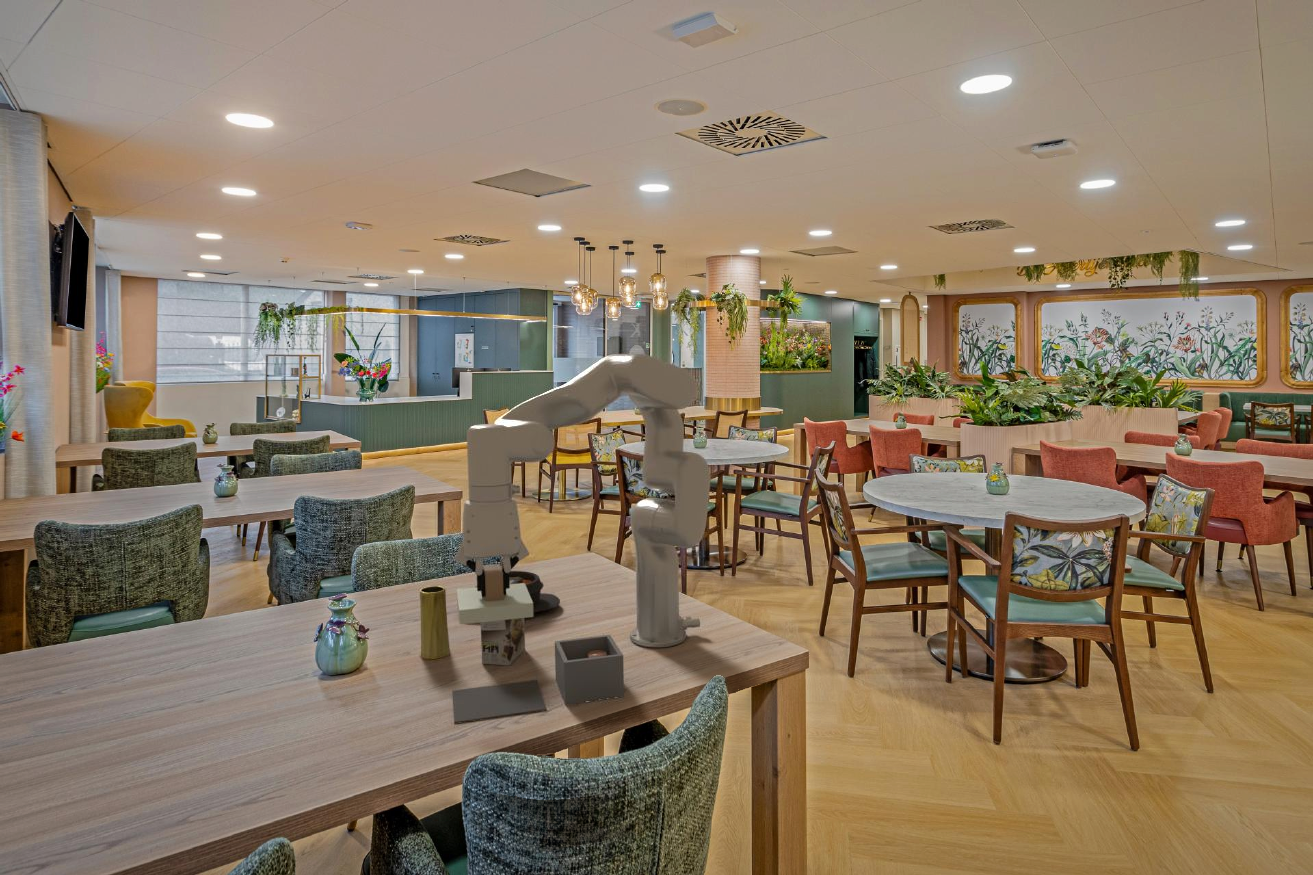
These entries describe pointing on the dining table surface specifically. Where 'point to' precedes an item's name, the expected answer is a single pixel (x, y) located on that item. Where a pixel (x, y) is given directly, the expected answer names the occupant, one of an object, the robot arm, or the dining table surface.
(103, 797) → the dining table surface
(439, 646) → the vase
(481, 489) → the robot arm
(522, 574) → the casserole
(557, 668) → the storage box
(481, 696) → the mat
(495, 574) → the lid
